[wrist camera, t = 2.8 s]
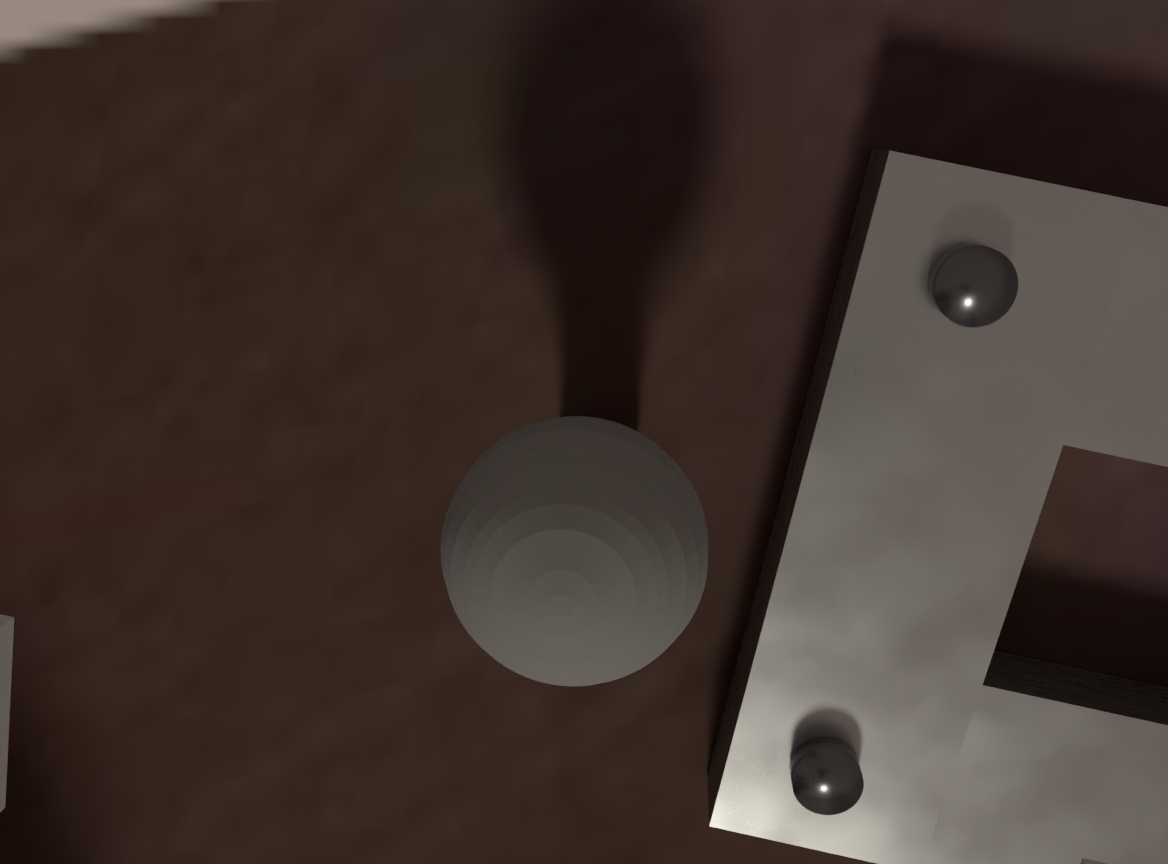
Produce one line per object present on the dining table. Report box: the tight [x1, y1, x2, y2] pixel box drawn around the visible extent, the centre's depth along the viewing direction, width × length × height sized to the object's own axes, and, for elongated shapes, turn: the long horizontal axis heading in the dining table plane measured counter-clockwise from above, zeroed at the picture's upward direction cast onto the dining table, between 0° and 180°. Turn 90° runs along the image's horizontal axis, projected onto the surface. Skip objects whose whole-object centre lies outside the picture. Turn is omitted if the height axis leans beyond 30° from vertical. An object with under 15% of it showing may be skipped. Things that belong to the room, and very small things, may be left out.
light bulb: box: [441, 416, 708, 686], centre depth 25 cm, size 6×6×10 cm
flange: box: [707, 148, 1168, 864], centre depth 28 cm, size 18×18×3 cm
